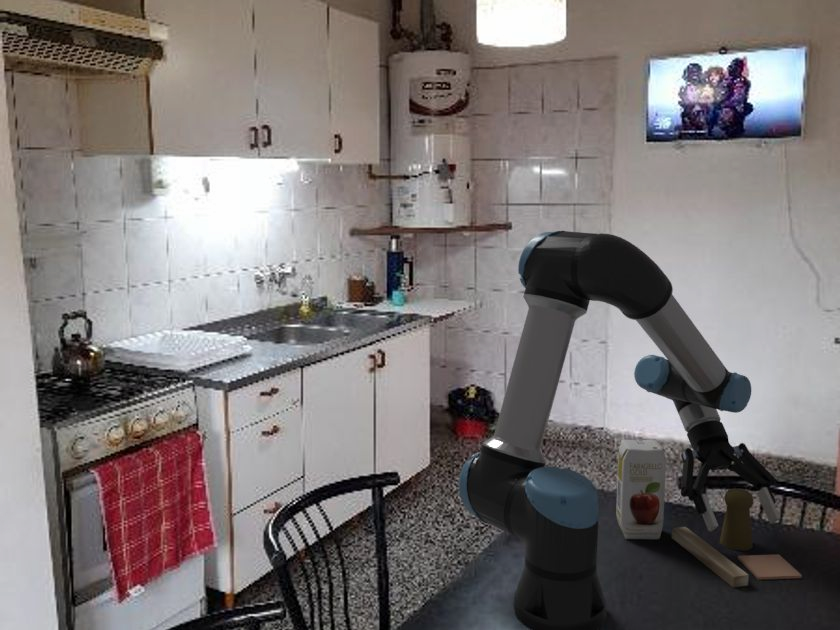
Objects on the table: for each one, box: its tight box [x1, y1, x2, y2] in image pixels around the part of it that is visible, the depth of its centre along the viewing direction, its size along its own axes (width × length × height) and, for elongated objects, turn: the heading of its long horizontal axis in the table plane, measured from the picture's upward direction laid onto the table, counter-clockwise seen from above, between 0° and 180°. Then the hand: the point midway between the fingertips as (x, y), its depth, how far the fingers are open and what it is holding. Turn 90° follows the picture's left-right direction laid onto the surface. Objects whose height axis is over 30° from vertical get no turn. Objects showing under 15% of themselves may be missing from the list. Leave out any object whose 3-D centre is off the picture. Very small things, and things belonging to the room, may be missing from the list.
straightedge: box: [671, 526, 750, 588], centre depth 144 cm, size 3×20×2 cm, turn 13°
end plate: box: [737, 553, 803, 581], centre depth 141 cm, size 8×8×1 cm
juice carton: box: [615, 438, 667, 540], centre depth 154 cm, size 8×9×19 cm
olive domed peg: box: [719, 487, 754, 552], centre depth 150 cm, size 6×6×11 cm
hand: (744, 525), depth 148 cm, fingers open, 13 cm apart
